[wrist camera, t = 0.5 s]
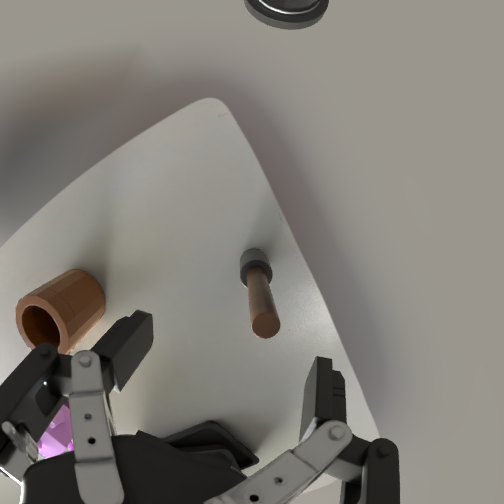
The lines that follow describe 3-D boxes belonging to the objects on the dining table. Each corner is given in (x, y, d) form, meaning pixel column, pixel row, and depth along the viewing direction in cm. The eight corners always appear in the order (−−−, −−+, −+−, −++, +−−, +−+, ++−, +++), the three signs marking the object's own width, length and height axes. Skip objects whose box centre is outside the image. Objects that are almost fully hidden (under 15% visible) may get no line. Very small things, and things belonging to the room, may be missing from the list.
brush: (234, 262, 37) (230, 328, 20) (252, 242, 37) (264, 293, 19) (254, 280, 38) (266, 355, 20) (273, 260, 38) (300, 323, 20)
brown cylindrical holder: (50, 297, 38) (8, 326, 27) (72, 257, 36) (27, 280, 26) (89, 334, 39) (55, 372, 28) (115, 297, 38) (79, 332, 27)
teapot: (96, 444, 44) (79, 481, 34) (45, 428, 44) (24, 459, 33) (76, 389, 41) (50, 427, 31) (23, 373, 41) (-7, 403, 30)
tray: (192, 399, 42) (188, 421, 37) (288, 459, 46) (291, 479, 41) (104, 457, 45) (96, 474, 40) (188, 504, 50) (186, 521, 45)
